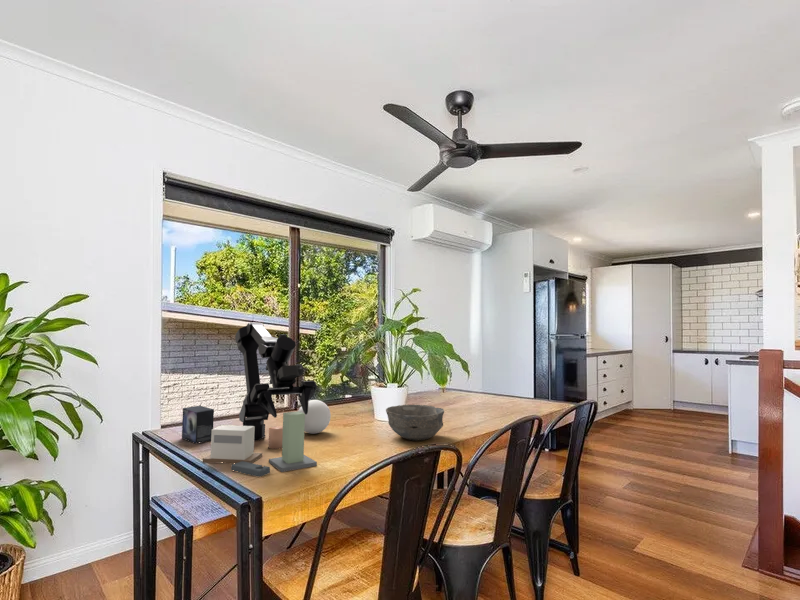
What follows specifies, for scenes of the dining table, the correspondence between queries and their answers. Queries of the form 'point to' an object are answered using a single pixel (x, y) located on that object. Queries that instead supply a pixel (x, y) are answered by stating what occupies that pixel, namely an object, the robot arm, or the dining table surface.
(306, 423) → the decorative ball
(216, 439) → the mounted unit
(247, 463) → the bracket
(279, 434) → the peach rounded cylinder
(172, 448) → the dining table surface
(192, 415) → the small box
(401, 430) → the bowl
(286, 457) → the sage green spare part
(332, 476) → the dining table surface
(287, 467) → the slate grey pad
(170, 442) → the dining table surface
